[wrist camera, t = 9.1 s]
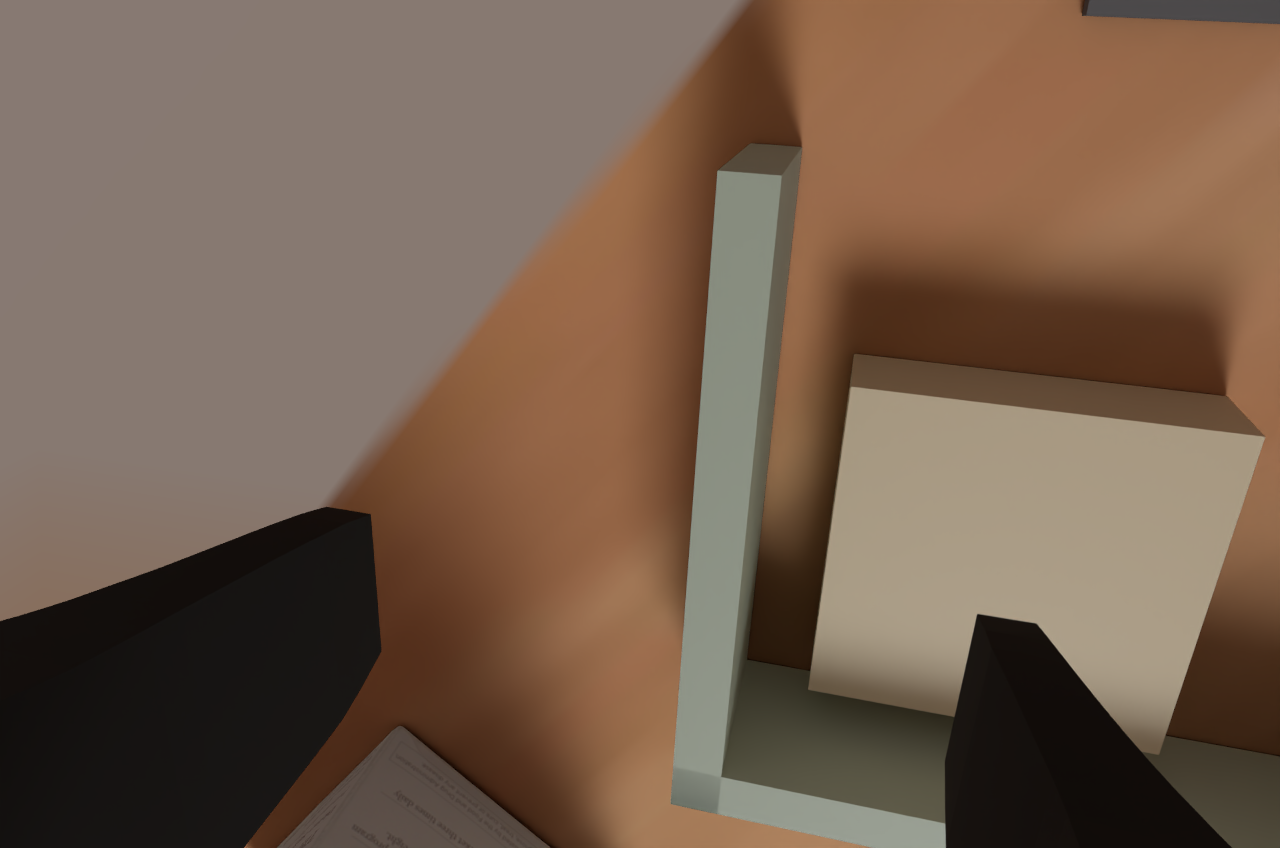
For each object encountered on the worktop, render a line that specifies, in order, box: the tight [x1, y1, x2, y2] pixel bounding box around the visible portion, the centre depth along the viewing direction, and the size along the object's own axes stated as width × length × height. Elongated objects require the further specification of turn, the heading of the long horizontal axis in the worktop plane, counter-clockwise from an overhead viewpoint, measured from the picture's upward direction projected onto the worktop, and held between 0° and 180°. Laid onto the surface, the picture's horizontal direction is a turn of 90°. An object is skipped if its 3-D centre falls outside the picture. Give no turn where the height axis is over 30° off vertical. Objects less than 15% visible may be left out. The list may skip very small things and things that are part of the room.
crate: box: [671, 143, 1280, 848], centre depth 18 cm, size 15×13×4 cm
